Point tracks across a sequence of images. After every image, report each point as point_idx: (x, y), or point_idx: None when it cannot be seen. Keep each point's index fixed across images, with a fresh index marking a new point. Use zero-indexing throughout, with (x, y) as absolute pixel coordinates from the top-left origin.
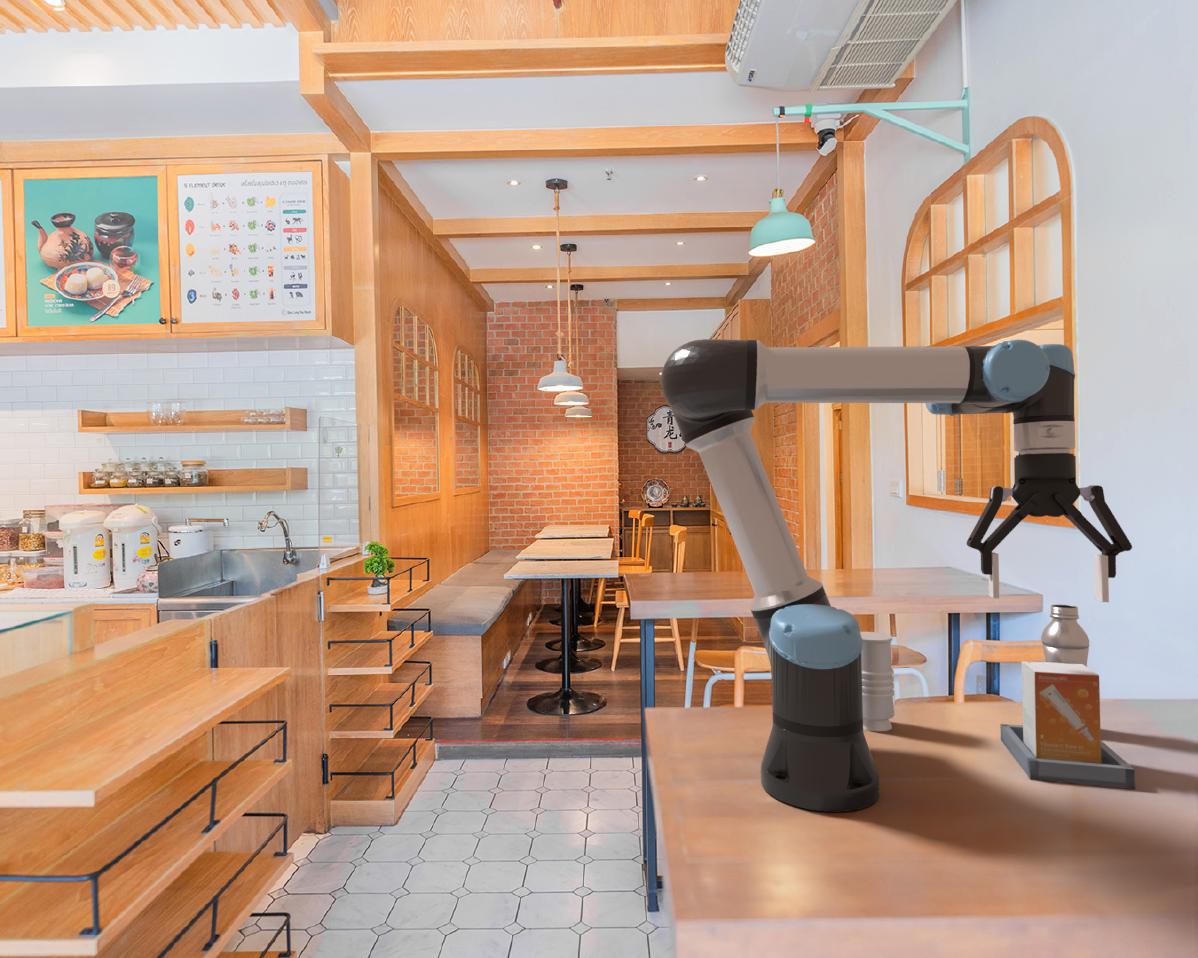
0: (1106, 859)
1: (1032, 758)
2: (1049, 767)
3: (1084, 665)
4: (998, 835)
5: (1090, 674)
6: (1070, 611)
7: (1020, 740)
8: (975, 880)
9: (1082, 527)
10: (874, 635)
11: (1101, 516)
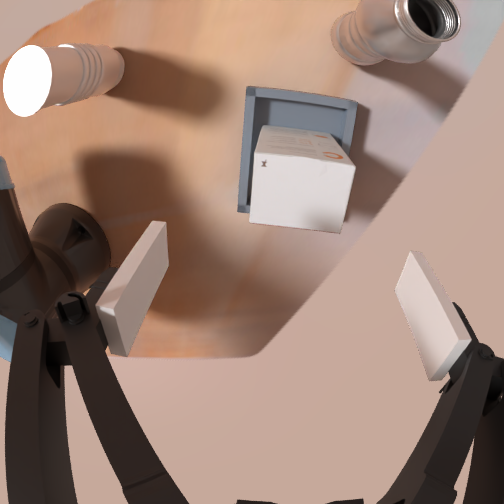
0: (242, 319)
1: (242, 205)
2: None
3: (352, 177)
4: (184, 300)
5: (329, 230)
6: (433, 41)
7: (250, 149)
8: (164, 338)
9: (405, 465)
10: (30, 75)
11: (477, 481)
